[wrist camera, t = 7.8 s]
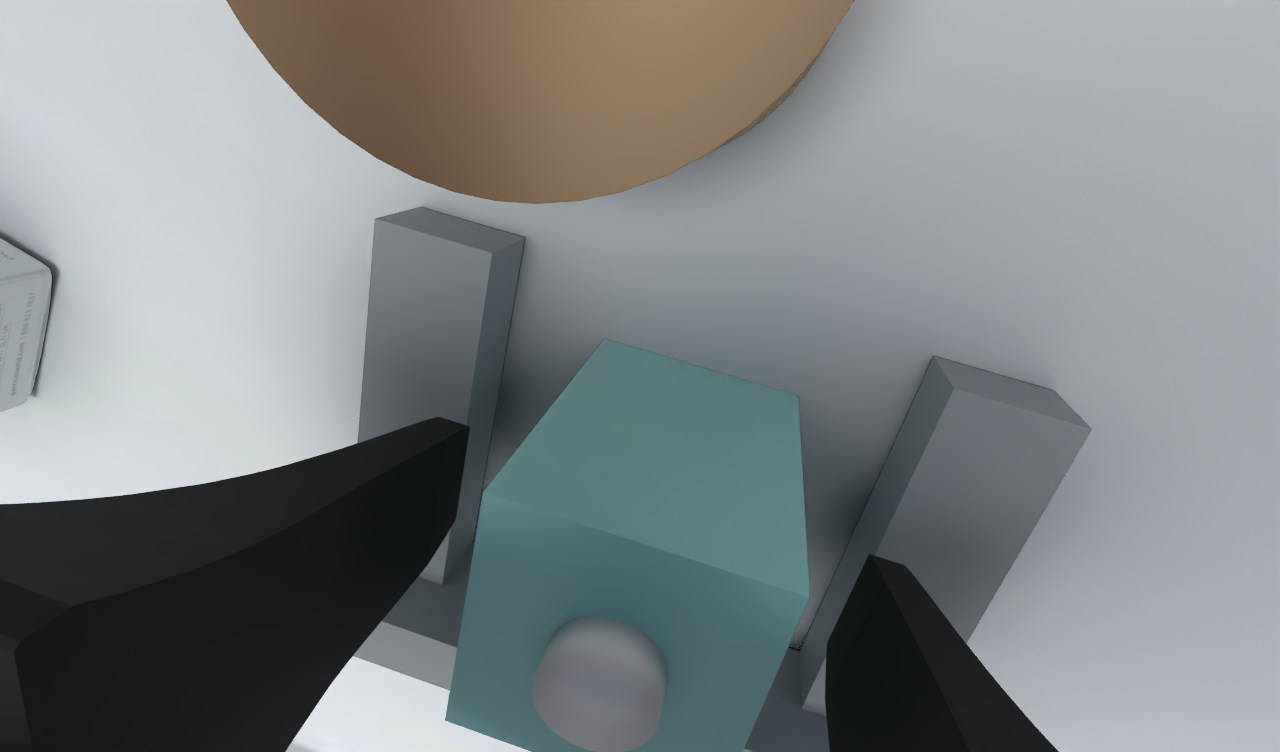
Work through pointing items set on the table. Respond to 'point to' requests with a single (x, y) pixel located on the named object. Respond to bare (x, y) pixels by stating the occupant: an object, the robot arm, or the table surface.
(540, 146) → the spool
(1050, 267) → the table surface
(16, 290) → the skincare box
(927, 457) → the gray u-shaped block
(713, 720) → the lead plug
